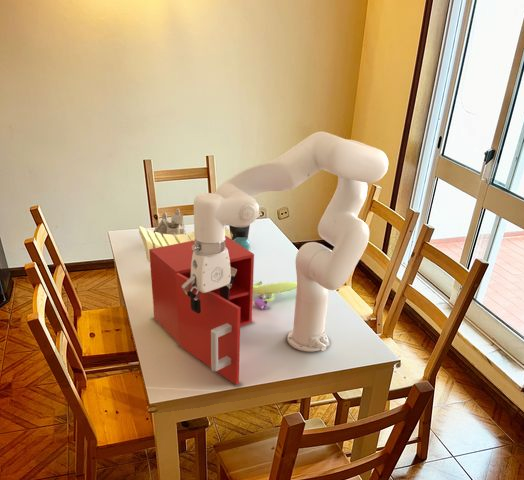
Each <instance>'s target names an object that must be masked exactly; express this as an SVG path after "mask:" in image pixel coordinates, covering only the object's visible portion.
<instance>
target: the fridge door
mask: <svg viewBox="0 0 524 480" xmlns="http://www.w3.org/2000/svg"><path fill="white" fill-rule="evenodd" d="M188 279H189V278H187V277H185V276H183V275H182V274H180V273H176V289H177V311H178V332H179V343H178V347H180V348H182V349H183V350H184V351H186V352H188V353H189V354H190V355H192V356H193V357H195V358H196V359H197V360H198V361H200V362H201V363H204V364H205V365H206V366H208V367H209V368H210V369H211V371H212V372H217V374H219V375H221V376H222V377H224V378H225V379H227V380H228V381H230V382H231V383H233V384H234V385H235V386H237V385H240V351H241V349H240V348H241V347H240V346H241V326H240V309H241V308H240V307H239V306H237V305H235V304H233V303H232V302H230V301H228V300H226V299H224V298H223V297H221V296H219V295H217V294H216V293H214V292H212V291H209V292H206V293H201V295H200V297H199V299H200V302H201V312H200V313H199V314H198V313H196V312H195V311H193V310H192V309H191V298H190V297H189V296H188V295H186V294H185V292H184V291H183V289H182V285H183V284H184V283H185V282H186V281H187V280H188ZM191 289H192V286H191V287H190V291H191ZM197 291H198V290H196V291H195V293H194V294H196V292H197Z"/></svg>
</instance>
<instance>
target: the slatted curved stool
mask: <svg viewBox="0 0 524 480" xmlns="http://www.w3.org/2000/svg"><path fill="white" fill-rule="evenodd" d="M138 231H139V235H140V238H141V240H142V242H143V246H144V251H145V258H146V260H147V262H148V263H150V253H149V249H153V248H158V247H163V246H169V245H174V244H178V243H184V242H189V241H194V240H195V239H194V238H195V236H194V231H191V232H188V233H186V234H179V235H175V237H176V239H177V240H176V239H175V237H174V236H173V235H170V234H163V237H162V235H161V234H160V233H158V232H155V233H154V230H150V229H145V227H142V226H140V225H139V226H138ZM225 236H227V237H228V238H230V239H231V234H230V229H228V228H227V226H225ZM177 241H178V242H177Z"/></svg>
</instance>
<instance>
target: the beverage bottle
mask: <svg viewBox="0 0 524 480" xmlns="http://www.w3.org/2000/svg"><path fill="white" fill-rule="evenodd" d="M235 236H236V237H237V238H235V239H234V240H233V241H235V242H236V243H238V244H239V245H241V246H242V247H244V248H245V249H247V250H249V251H250V244H251V242H250V240H249V238H248V239H247V238H245V237H246V236H247V230H246V229H243V228H239V229H236V233H235Z"/></svg>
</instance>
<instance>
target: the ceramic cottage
mask: <svg viewBox="0 0 524 480" xmlns="http://www.w3.org/2000/svg"><path fill="white" fill-rule="evenodd" d="M161 215H162V216H161V217H162V218H161V220H160V222H159V223H158V224H157V226H155V227H154V230H153V233H154V234H155V232H158V233H160V234H161V235H162V237H163V234H170V235H173V236H174V237H175V235H179V234H186V235H187V231H186V230H185V228H186V227H185V221H184V215H183V214H181V211H180V208H179V207H178V208H177V209H176V210H175V211H174V213H172V214H171V218H170V220H171V221H170V222H169V221H168V216H167V212H166V211H163V212H162V214H161ZM175 239H176V237H175ZM176 240H177V239H176ZM177 242H178V241H177ZM178 244H179V243H178Z"/></svg>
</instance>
